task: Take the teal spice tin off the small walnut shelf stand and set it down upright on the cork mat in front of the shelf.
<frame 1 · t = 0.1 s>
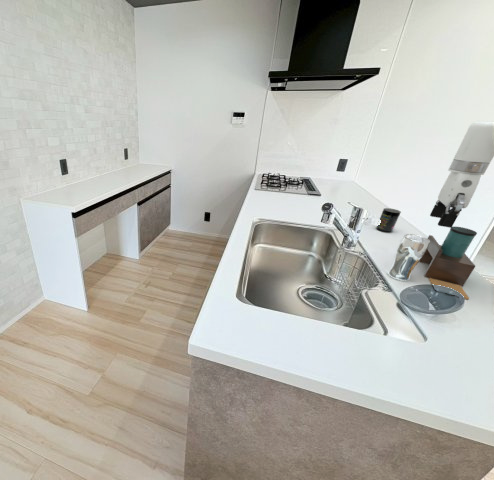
hand: (439, 221, 83), 21 cm above the countertop, tool pointing down, fingers open, 9 cm apart
spice tin: (450, 253, 91), point 8 cm above the countertop, touching shelf
cork mat: (447, 288, 85), on the countertop
supplement container: (383, 230, 129), on the countertop
beer glass: (397, 276, 91), on the countertop
shelf: (437, 272, 94), on the countertop
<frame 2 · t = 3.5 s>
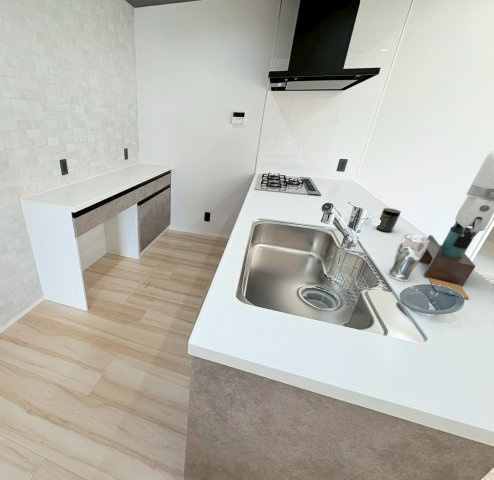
hand: (456, 243, 89), 12 cm above the countertop, tool pointing down, fingers closed on spice tin, 6 cm apart
spice tin: (450, 253, 91), point 8 cm above the countertop, touching gripper, shelf
everything else where it was.
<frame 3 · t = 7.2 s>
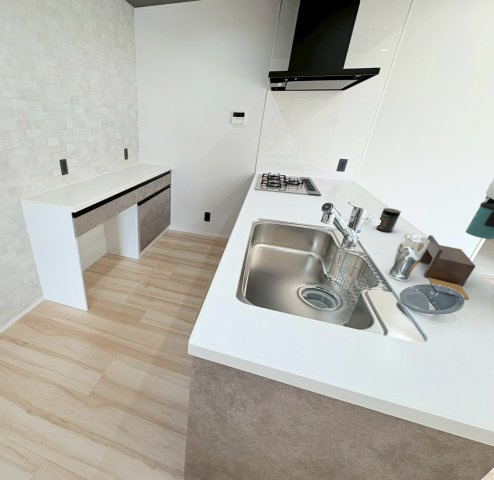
hand: (487, 222, 75), 24 cm above the countertop, tool pointing down, fingers closed on spice tin, 6 cm apart
spice tin: (479, 234, 76), point 20 cm above the countertop, touching gripper
everything else where it was.
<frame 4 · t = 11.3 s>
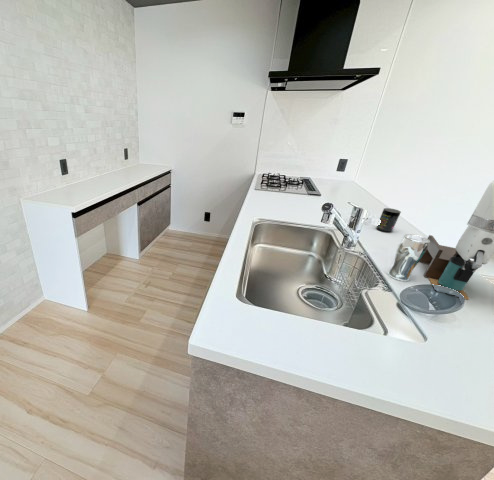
hand: (456, 274, 83), 6 cm above the countertop, tool pointing down, fingers closed on spice tin, 6 cm apart
spice tin: (450, 285, 84), point 2 cm above the countertop, touching gripper
everything else where it was.
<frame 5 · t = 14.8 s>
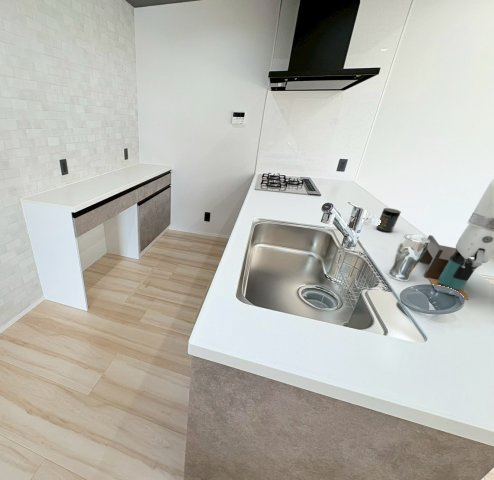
hand: (456, 273, 82), 6 cm above the countertop, tool pointing down, fingers closed on spice tin, 6 cm apart
spice tin: (450, 283, 84), point 2 cm above the countertop, touching gripper
everything else where it was.
when the fingers open (6 cm above the countertop, at t = 18.4 s): spice tin drops 1 cm, resting on cork mat.
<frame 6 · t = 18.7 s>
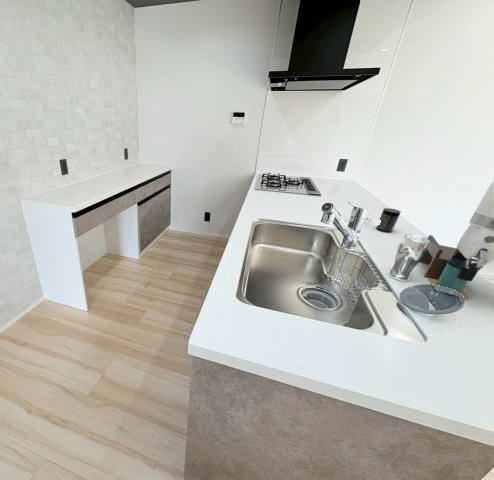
hand: (458, 272, 82), 7 cm above the countertop, tool pointing down, fingers open, 8 cm apart
spice tin: (448, 287, 85), point 1 cm above the countertop, touching cork mat
everything else where it was.
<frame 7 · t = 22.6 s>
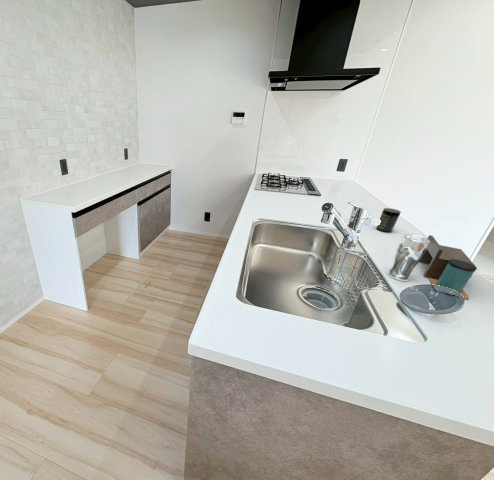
nothing on the countertop moved.
at the end: spice tin inside the target area on the cork mat (0.1 cm from its centre), point 0.6 cm above the cork mat's base; spice tin tilted 0°; spice tin touching cork mat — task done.
